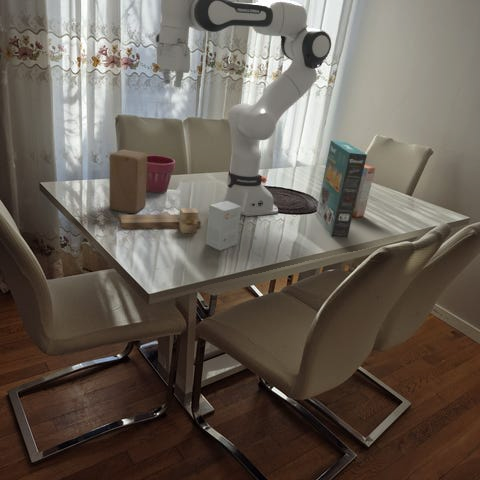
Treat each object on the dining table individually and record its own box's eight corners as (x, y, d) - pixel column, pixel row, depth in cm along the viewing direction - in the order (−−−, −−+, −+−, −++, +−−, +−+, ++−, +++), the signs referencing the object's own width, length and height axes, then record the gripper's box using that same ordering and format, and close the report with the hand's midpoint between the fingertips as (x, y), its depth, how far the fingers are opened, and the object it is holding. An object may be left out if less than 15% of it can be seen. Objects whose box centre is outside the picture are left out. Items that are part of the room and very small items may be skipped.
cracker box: (364, 216, 178) (376, 167, 170) (355, 218, 174) (367, 168, 166) (338, 205, 187) (348, 158, 179) (329, 207, 184) (339, 159, 176)
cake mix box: (347, 237, 152) (367, 154, 141) (331, 236, 152) (349, 152, 140) (330, 216, 172) (346, 142, 161) (315, 215, 171) (330, 140, 160)
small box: (222, 238, 138) (226, 200, 133) (237, 244, 135) (242, 206, 130) (205, 244, 132) (208, 204, 127) (220, 251, 129) (224, 210, 124)
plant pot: (170, 196, 171) (172, 165, 166) (135, 192, 171) (136, 160, 166) (175, 186, 184) (177, 157, 179) (143, 182, 184) (144, 153, 179)
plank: (195, 219, 151) (195, 214, 150) (200, 227, 145) (201, 221, 144) (119, 220, 141) (119, 214, 141) (121, 228, 135) (121, 222, 135)
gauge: (190, 222, 148) (191, 203, 145) (196, 232, 140) (198, 212, 137) (176, 222, 146) (177, 203, 143) (181, 232, 138) (183, 212, 135)
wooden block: (135, 215, 148) (136, 158, 140) (108, 209, 149) (108, 153, 141) (146, 206, 157) (148, 152, 149) (121, 201, 158) (121, 148, 150)
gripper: (197, 41, 126) (193, 89, 132) (171, 39, 142) (169, 82, 148) (177, 38, 123) (174, 88, 129) (153, 36, 139) (152, 81, 145)
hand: (171, 85), depth 138 cm, fingers open, 8 cm apart
